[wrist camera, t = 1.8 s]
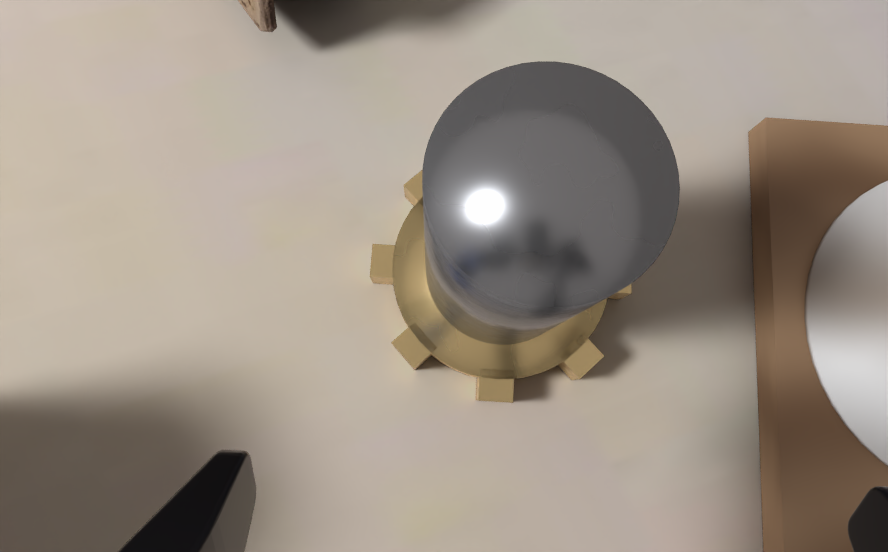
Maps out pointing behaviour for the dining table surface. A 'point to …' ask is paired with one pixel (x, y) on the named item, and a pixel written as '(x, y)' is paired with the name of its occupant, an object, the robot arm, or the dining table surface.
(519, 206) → the loose gear
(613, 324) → the dining table surface
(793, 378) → the gear board
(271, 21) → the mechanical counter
